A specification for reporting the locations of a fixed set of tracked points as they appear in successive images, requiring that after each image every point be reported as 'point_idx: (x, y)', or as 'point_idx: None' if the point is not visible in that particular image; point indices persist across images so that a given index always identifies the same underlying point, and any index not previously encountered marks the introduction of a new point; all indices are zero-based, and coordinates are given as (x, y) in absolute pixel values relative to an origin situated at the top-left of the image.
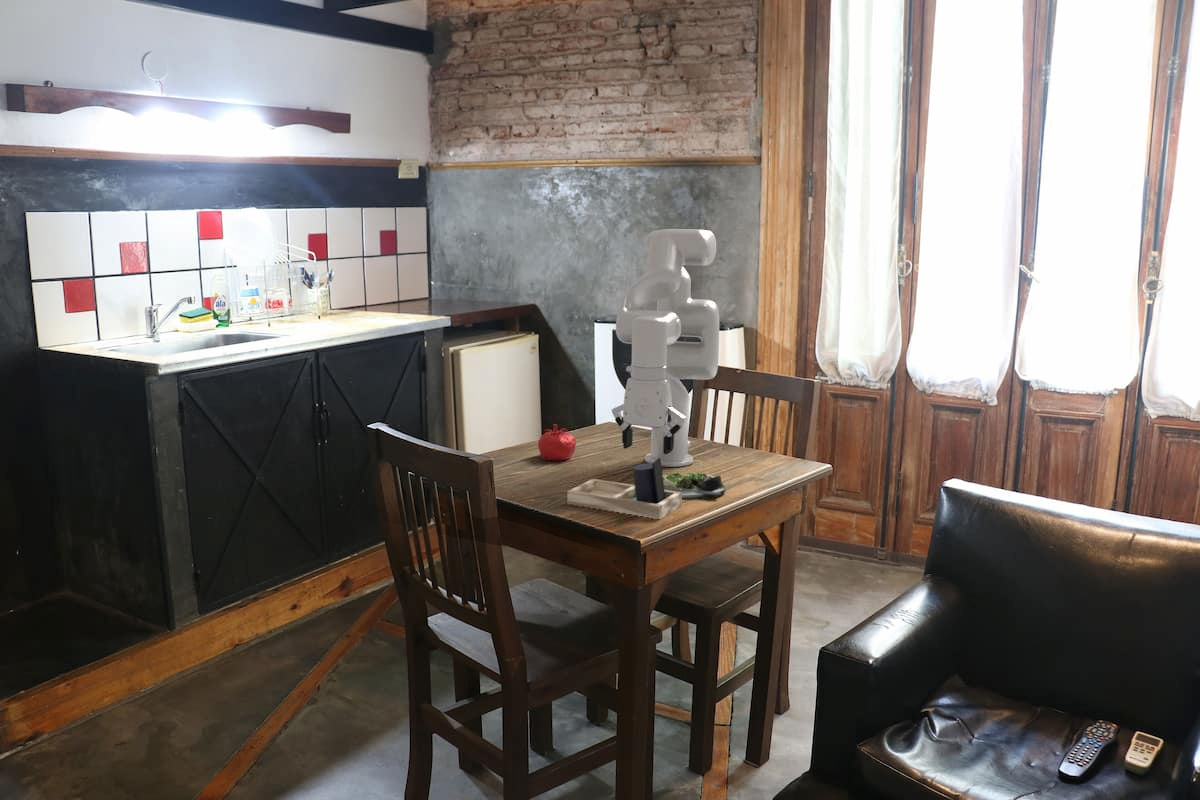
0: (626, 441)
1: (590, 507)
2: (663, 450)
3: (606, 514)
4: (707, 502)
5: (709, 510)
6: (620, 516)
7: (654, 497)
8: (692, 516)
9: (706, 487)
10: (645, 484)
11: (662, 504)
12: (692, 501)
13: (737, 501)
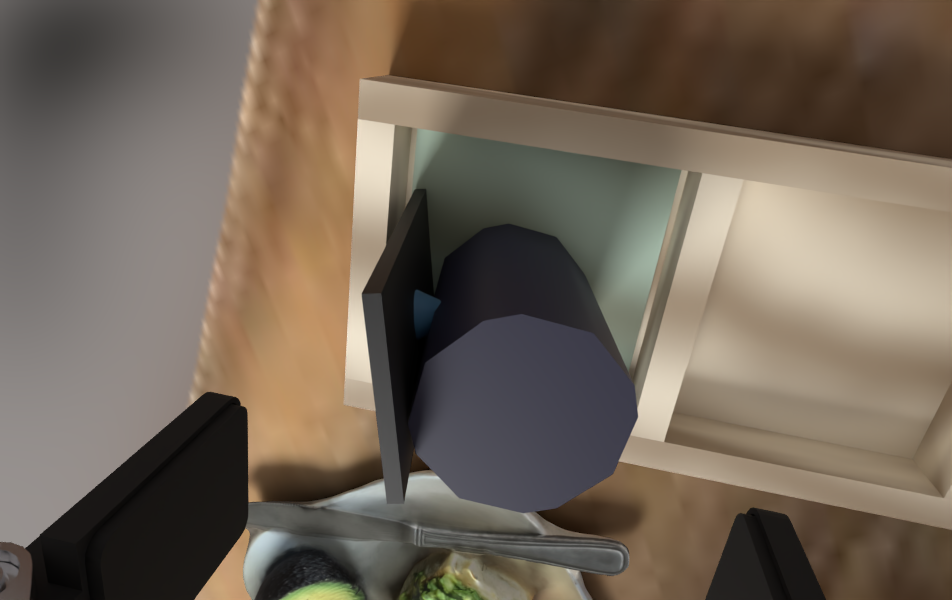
0: (766, 577)
1: (885, 149)
2: (224, 421)
3: (741, 54)
4: (277, 445)
5: (220, 333)
6: (637, 49)
7: (455, 259)
8: (252, 211)
9: (299, 558)
10: (500, 268)
11: (357, 129)
12: (344, 442)
13: None
